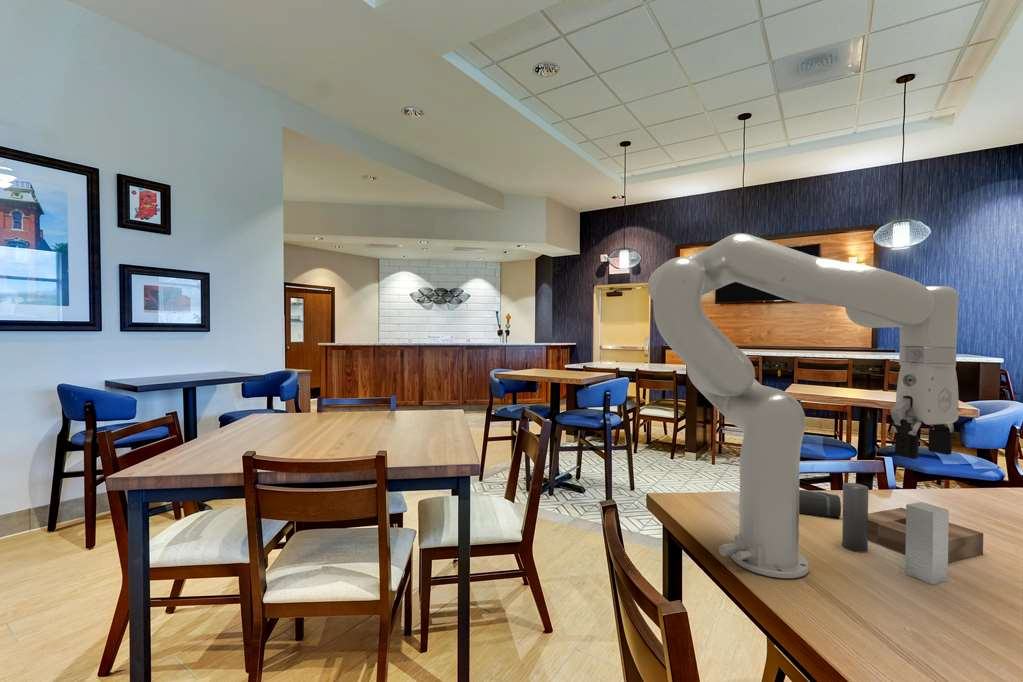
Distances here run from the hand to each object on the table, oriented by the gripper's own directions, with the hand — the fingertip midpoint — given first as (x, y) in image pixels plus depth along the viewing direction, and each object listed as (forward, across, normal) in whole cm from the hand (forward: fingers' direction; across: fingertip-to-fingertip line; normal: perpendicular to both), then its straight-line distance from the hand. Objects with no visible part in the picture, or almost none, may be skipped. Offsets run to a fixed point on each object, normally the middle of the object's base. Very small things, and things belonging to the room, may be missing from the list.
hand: (923, 454), depth 84 cm
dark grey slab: (+21, +3, +27) cm, 34 cm away
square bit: (+20, -2, -2) cm, 21 cm away
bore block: (+20, +11, +6) cm, 24 cm away
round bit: (+20, -1, +10) cm, 23 cm away
